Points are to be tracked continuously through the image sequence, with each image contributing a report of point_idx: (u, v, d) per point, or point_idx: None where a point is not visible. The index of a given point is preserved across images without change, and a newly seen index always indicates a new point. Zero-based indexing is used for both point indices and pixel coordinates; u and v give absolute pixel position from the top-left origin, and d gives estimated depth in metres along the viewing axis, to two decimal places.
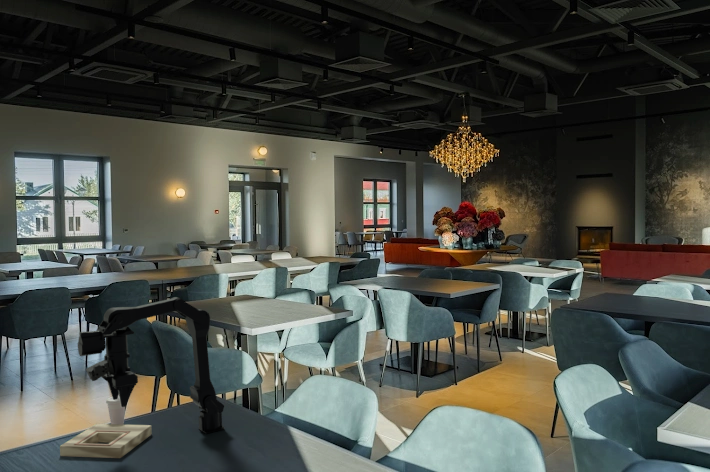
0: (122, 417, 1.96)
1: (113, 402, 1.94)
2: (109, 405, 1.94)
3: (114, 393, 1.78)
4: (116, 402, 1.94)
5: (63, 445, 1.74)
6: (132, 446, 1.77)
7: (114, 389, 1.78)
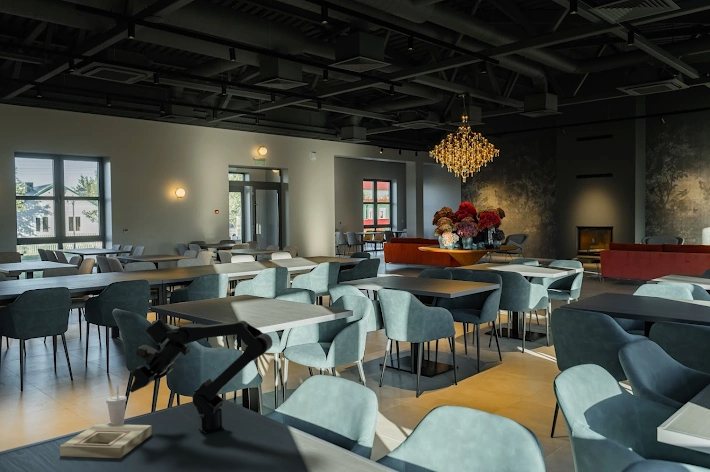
0: (122, 417, 1.96)
1: (113, 402, 1.94)
2: (109, 405, 1.94)
3: None
4: (116, 402, 1.94)
5: (63, 445, 1.74)
6: (132, 446, 1.77)
7: None
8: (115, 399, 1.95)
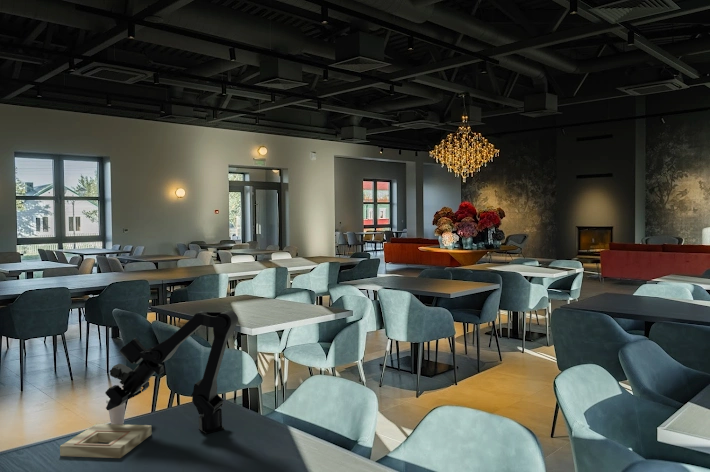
0: (122, 417, 1.96)
1: None
2: None
3: None
4: None
5: (63, 445, 1.74)
6: (132, 446, 1.77)
7: None
8: None
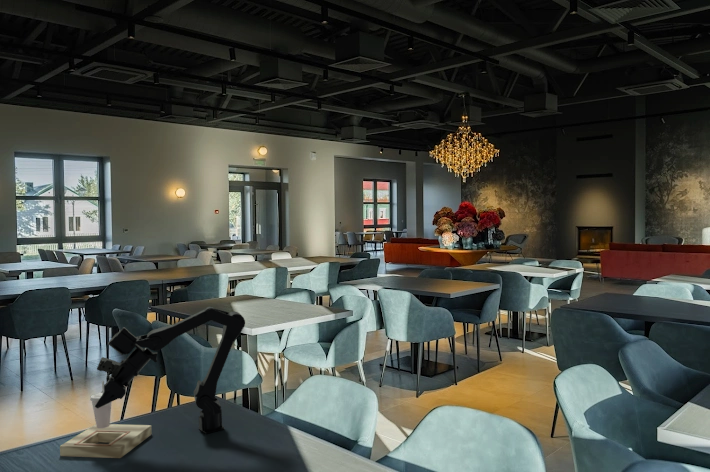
0: (110, 414, 1.81)
1: None
2: None
3: None
4: None
5: (63, 445, 1.74)
6: (132, 446, 1.77)
7: None
8: None
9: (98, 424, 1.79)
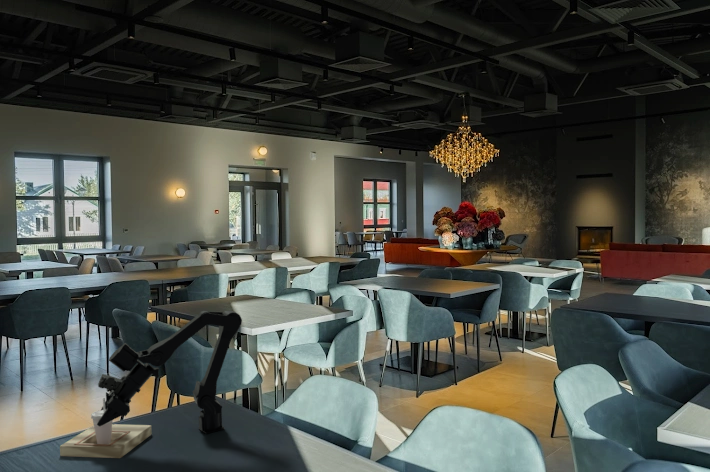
0: (111, 432, 1.79)
1: None
2: None
3: None
4: None
5: (63, 445, 1.74)
6: (132, 446, 1.77)
7: None
8: None
9: (100, 443, 1.77)
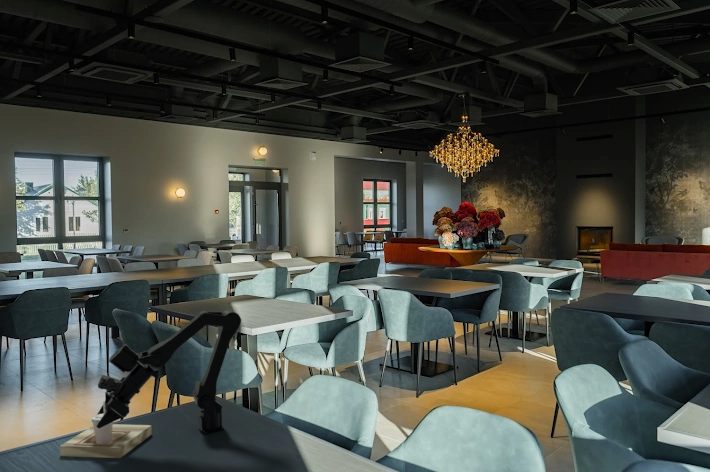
0: (111, 436, 1.79)
1: None
2: None
3: (101, 413, 1.82)
4: None
5: (63, 445, 1.74)
6: (132, 446, 1.77)
7: None
8: None
9: None
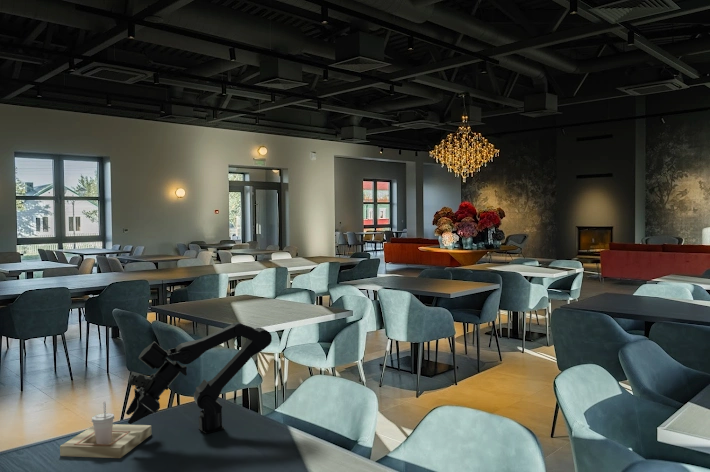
0: (111, 436, 1.79)
1: (105, 420, 1.76)
2: (99, 424, 1.76)
3: (130, 409, 1.86)
4: (108, 420, 1.77)
5: (63, 445, 1.74)
6: (132, 446, 1.77)
7: (133, 406, 1.86)
8: (104, 417, 1.77)
9: None
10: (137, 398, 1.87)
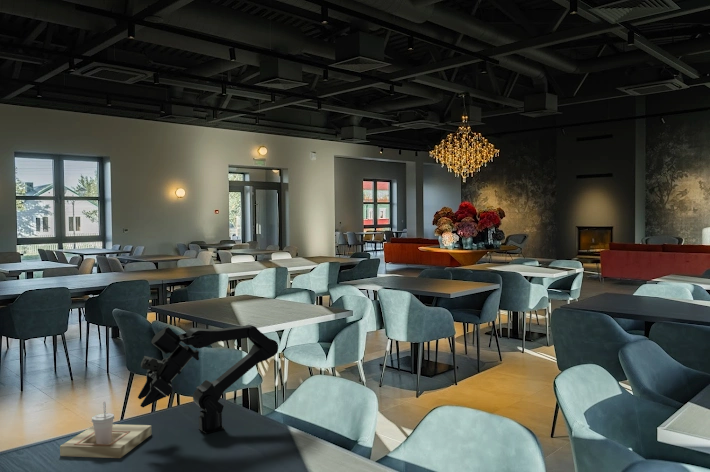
0: (111, 436, 1.79)
1: (105, 420, 1.76)
2: (99, 424, 1.76)
3: (142, 393, 1.86)
4: (108, 420, 1.77)
5: (63, 445, 1.74)
6: (132, 446, 1.77)
7: (145, 390, 1.87)
8: (104, 417, 1.77)
9: None
10: (149, 382, 1.87)
